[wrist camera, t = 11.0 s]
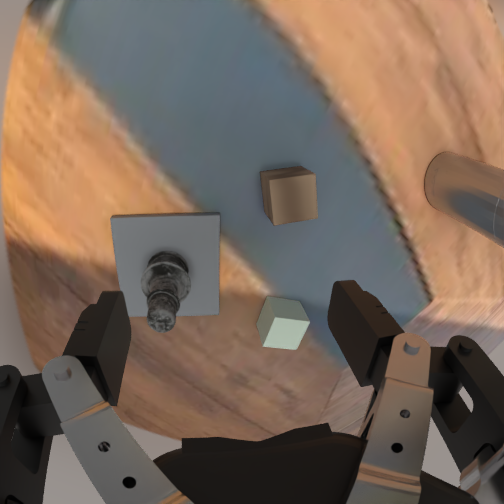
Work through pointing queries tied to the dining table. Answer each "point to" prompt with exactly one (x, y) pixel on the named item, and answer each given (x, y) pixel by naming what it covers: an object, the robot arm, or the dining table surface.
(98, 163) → the dining table surface
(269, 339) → the sage block
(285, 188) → the walnut block
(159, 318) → the salt shaker
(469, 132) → the dining table surface
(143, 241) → the serving board
